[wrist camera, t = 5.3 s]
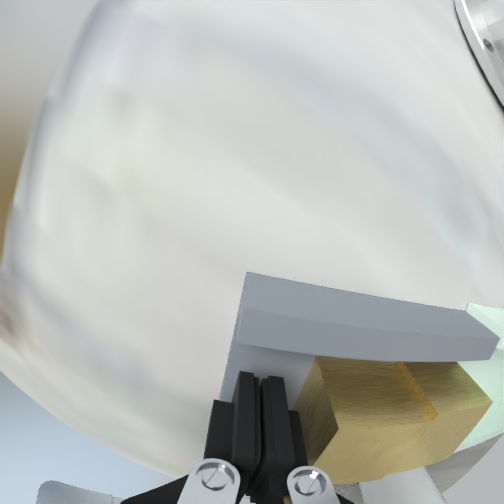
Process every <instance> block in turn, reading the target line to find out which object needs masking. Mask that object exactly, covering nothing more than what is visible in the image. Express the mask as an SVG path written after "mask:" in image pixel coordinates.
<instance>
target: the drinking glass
mask: <svg viewBox="0 0 504 504" xmlns="http://www.w3.org/2000/svg"><path fill="white" fill-rule="evenodd" d="M359 486H360V490H361V493H362V497H363V501H364V504H447V503H446V501H445V499H444V498H443V496H442V494H441V493H440V491H439V489H438V488H437V486H436V485H435V483H434V481H433V480H432V478H431V477H430V475H429V473H428V472H427V470H426V468H425V467H421V468H417V469H413V470H409V471H405V472H400V473H395V474H390V475H386V476H385V477H384V478H382V479H379V480H373V481H367V482H360V483H359Z"/></svg>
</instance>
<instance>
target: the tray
mask: <svg viewBox="0 0 504 504" xmlns="http://www.w3.org/2000/svg"><path fill="white" fill-rule="evenodd" d="M466 312H467V313H469V314H470V315H471V316H473V317H474V318H475V319H477V320H478V321H479V322H481V323H482V324H483V325H485V326H486V327H487V328H489V329H490V330H491V331H492V332H494V333H495V334H496V335H497V336H499V337H500V340H499V342H498V344H497V346H496V348H495V350H494V352H493V354H492V356H491V358H490V360H480V361H458V362H457V363H458V364H459V365H460V366H461V367H462V368H463V369H464V370H465V371H466V372H467V373H468V374H469V375H470V377H471V378H472V379H473V380H474V381H475V382H476V383H477V384H478V385H479V386H480V388H481V389H482V390H483V391H484V392H485V393H486V394H487V396H488V397H489V398H490V399H491V400H492V401H493V403H492V405H491V406H490V408H489V409H488V410H487V412H486V413H485V415H484V416H483V417H482V419H481V420H480V421H479V422H478V424H477V425H476V426H475V428H474V429H473V430H472V431H471V432H470V434H469V435H468V436H467V437H466V438H465V440H464V441H463V442H462V443H461V444H460V445H459V447H458V448H457V449H456V450H455V451H454V452H453V453H455V452H458V451H461V450H464V449H466V448H469V447H471V446H474V445H477V444H479V443H481V442H484V441H486V440H488V439H491V438H493V437H495V436H497V435H499V434H501V433H504V309H500V308H495V307H489V306H484V305H479V304H473V303H469V304H468V306H467V309H466Z"/></svg>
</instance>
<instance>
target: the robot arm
mask: <svg viewBox="0 0 504 504" xmlns="http://www.w3.org/2000/svg"><path fill="white" fill-rule="evenodd" d="M454 1H455V6H456V11H457V14H458V17H459V20H460V23H461V26H462V28H463V30H464V33H465V35H466V37H467V40H468V42H469V44H470V46H471V48H472V50H473V52H474V54H475V56H476V58H477V60H478V63H479V64H480V66H481V68H482V70H483V72H484V74H485V75H486V77H487V79H488V81H489V83H490V85H491V86H492V88H493V90H494V91H495V93H496V95H497V97H498V99H499V100H500V102H501V103H502V105H503V106H504V0H454ZM244 494H245V495H246V496H250V502H251V503H256V504H354V503H353V502H351V501H349V500H347V499H346V498H344V497H342V496H341V495H339V494H337V493H336V492H335V490H334V487H333V485H332V483H331V480H330V478H329V477H328V475H327V474H326V473H325V472H324V471H322V470H320V469H318V468H316V467H312V466H308V460H307V454H306V449H305V443H304V437H303V432H302V426H301V421H300V415H299V412H298V411H293V410H288V404H287V397H286V390H285V383H284V378H283V377H278V376H270V375H269V376H268V378H267V379H266V378H263V379H262V381H261V384H260V387H259V377H254V373H251V372H245V371H239V374H238V378H237V382H236V386H235V389H234V393H233V397H232V401H231V402H225V401H219V400H214V402H213V407H212V412H211V417H210V422H209V428H208V434H207V440H206V446H205V452H204V459H203V460H201V461H199V462H198V463H196V464H195V465H194V466H193V468H192V469H191V471H190V474H188V475H186V476H184V477H182V478H180V479H177V480H175V481H173V482H171V483H168V484H165V485H163V486H161V487H158V488H155V489H153V490H150V491H148V492H145V493H142V494H139V495H136V496H133V497H130V498H128V499H122V498H116V497H112V495H109V494H103V493H98V492H94V491H90V490H86V489H82V488H78V487H75V486H71V485H68V484H64V483H61V482H58V481H46V482H44V483H43V484H42V485H41V486H40V488H39V491H38V496H37V502H36V504H239V502H240V501H241V499H242V497H243V496H244Z"/></svg>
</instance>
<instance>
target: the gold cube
mask: <svg viewBox="0 0 504 504" xmlns="http://www.w3.org/2000/svg"><path fill="white" fill-rule="evenodd" d="M292 410H293V411H298V412H299V415H300V421H301V426H302V432H303V437H304V443H305V449H306V454H307V460H308V466H312V467H316V468H318V469H320V470H322V471H324V472H325V473H326V474H327V475H328V477H329V478H330V480H331V483H332V485H342V484H352V483H360V482H367V481H373V480H379V479H382V478H384V477H385V476H386V475H387V474H388V473H389V472H390V471H391V470H392V469H393V468H394V467H395V466H396V465H397V464H398V462H399V461H400V460H401V459H402V458H403V457H404V456H405V455H406V454H407V453H408V452H409V451H410V449H411V448H412V447H413V446H414V445H415V444H416V443H417V441H418V440H419V439H420V438H421V437H422V435H423V434H424V433H425V432H426V430H427V429H428V428H429V427H430V425H431V424H432V423H433V421H434V420H433V418H432V417H431V415H430V414H429V412H428V411H427V409H426V407H425V406H424V404H423V403H422V401H421V400H420V398H419V397H418V395H417V394H416V392H415V391H414V389H413V388H412V386H411V385H410V383H409V382H408V380H407V379H406V377H405V376H404V375H403V373H402V372H401V370H400V369H399V367H398V366H397V364H396V363H395V362H381V361H366V360H354V359H343V358H333V357H324V356H315V358H314V361H313V363H312V366H311V368H310V370H309V373H308V375H307V378H306V380H305V382H304V384H303V387H302V389H301V391H300V394H299V396H298V398H297V400H296V402H295V405H294V407H293V409H292Z"/></svg>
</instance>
